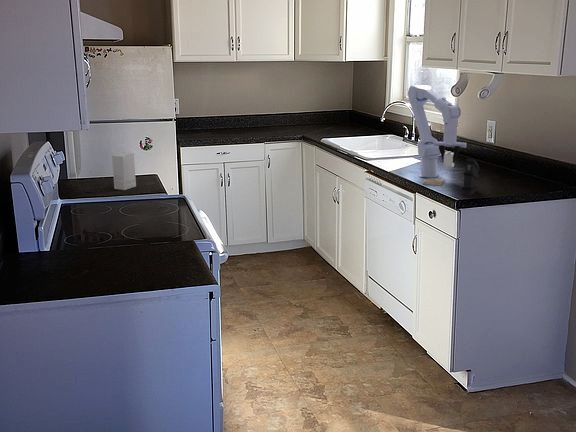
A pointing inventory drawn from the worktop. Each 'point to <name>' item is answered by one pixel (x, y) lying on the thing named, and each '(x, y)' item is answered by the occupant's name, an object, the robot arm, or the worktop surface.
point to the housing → (448, 160)
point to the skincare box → (124, 171)
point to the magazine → (470, 177)
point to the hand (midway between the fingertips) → (448, 162)
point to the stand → (433, 181)
